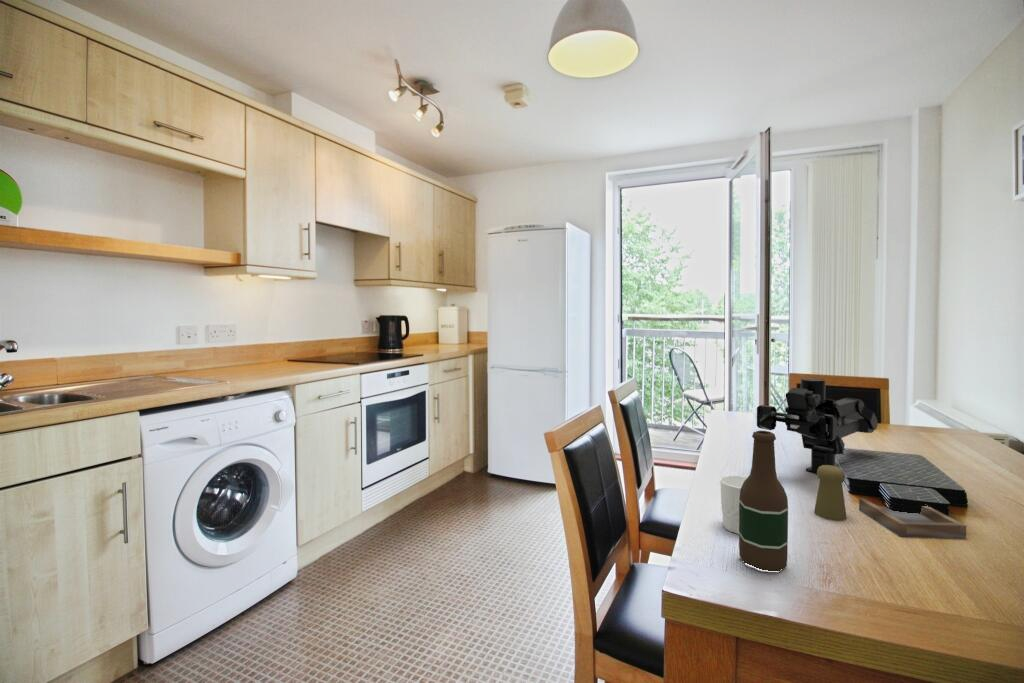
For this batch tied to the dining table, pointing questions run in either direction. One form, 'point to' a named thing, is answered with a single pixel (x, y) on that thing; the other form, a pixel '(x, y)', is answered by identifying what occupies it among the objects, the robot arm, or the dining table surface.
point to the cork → (830, 493)
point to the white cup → (731, 501)
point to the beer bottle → (763, 510)
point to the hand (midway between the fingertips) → (778, 426)
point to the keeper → (915, 522)
